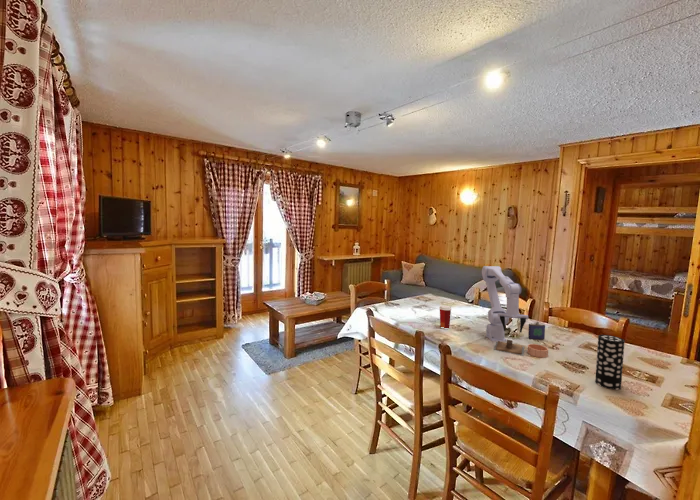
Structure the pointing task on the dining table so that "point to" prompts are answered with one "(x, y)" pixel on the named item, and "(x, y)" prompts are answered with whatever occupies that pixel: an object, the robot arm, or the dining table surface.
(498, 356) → the dining table surface
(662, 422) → the dining table surface
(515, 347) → the lid
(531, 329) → the flask
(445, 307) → the pint of red drink
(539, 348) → the bowl
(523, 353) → the mat
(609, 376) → the white-spotted black cylinder
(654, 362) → the dining table surface
